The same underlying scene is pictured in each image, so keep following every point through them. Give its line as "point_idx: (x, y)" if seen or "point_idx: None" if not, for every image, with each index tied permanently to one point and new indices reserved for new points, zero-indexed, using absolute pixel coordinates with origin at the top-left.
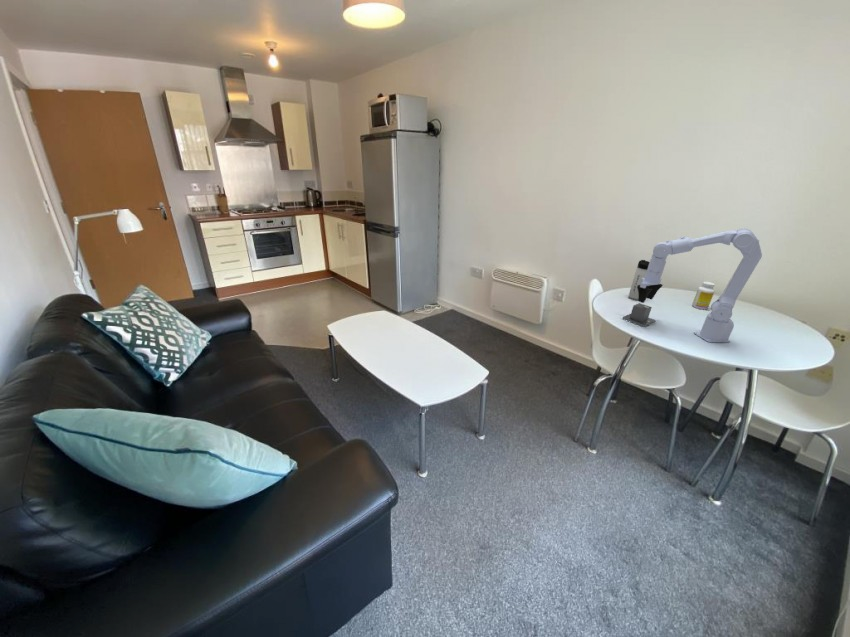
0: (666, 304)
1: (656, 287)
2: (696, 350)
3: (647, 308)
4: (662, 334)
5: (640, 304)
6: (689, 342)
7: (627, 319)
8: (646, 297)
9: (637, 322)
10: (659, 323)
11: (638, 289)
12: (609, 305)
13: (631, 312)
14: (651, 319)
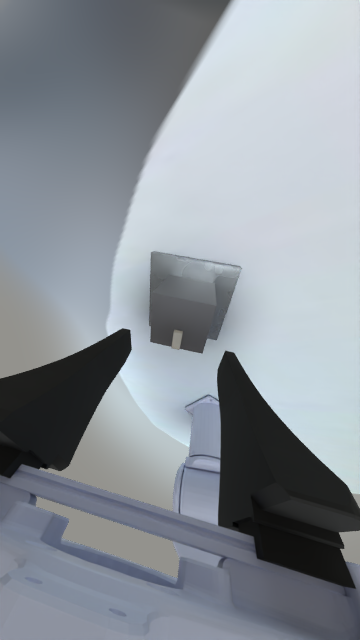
0: None
1: (226, 478)
2: (134, 394)
3: (169, 344)
4: (148, 355)
5: (197, 314)
6: (156, 388)
7: (151, 272)
8: (108, 381)
9: (150, 305)
10: (215, 344)
11: (12, 381)
12: (313, 84)
13: (163, 281)
14: (212, 330)
